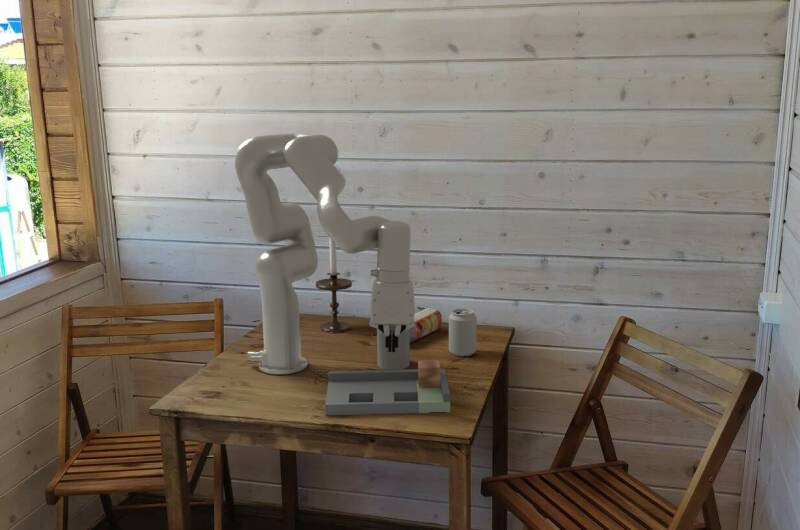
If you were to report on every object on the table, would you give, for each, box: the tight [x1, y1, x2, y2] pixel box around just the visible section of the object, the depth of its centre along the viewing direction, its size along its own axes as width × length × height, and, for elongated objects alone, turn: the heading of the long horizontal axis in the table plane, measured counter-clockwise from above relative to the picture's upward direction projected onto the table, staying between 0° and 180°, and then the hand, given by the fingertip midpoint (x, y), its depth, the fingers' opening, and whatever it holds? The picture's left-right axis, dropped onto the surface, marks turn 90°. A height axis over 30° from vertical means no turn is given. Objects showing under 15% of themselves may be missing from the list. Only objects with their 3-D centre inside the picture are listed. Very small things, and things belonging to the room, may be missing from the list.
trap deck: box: [324, 368, 451, 416], centre depth 189 cm, size 28×16×4 cm, turn 92°
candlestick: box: [315, 236, 353, 334], centre depth 242 cm, size 11×11×35 cm
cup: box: [376, 325, 411, 370], centre depth 213 cm, size 8×8×10 cm
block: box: [417, 359, 441, 388], centre depth 192 cm, size 5×5×5 cm
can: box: [448, 308, 478, 358], centre depth 221 cm, size 8×8×12 cm
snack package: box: [409, 307, 443, 343], centre depth 235 cm, size 21×7×7 cm, turn 145°
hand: (391, 350), depth 191 cm, fingers closed
